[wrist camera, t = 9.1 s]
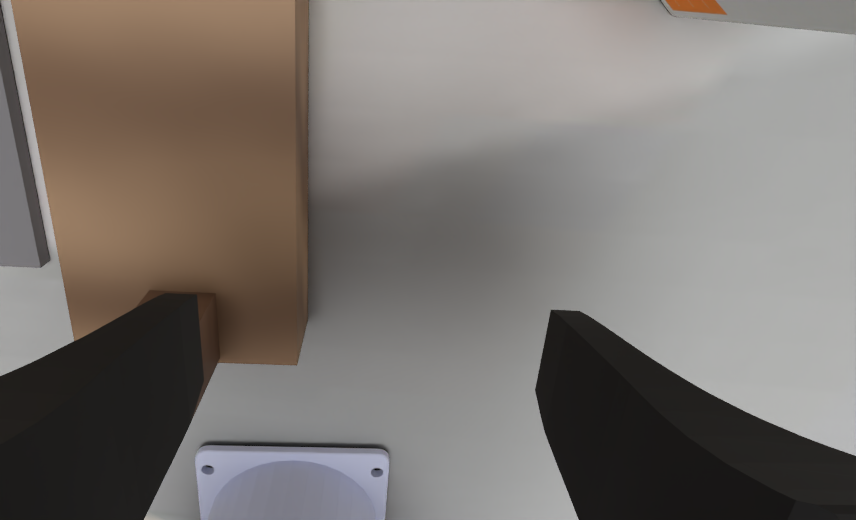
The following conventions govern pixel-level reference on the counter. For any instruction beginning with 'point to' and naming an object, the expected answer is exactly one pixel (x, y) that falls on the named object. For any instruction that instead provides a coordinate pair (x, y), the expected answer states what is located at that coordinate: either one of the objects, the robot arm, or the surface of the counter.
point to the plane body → (177, 162)
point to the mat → (16, 179)
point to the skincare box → (773, 13)
